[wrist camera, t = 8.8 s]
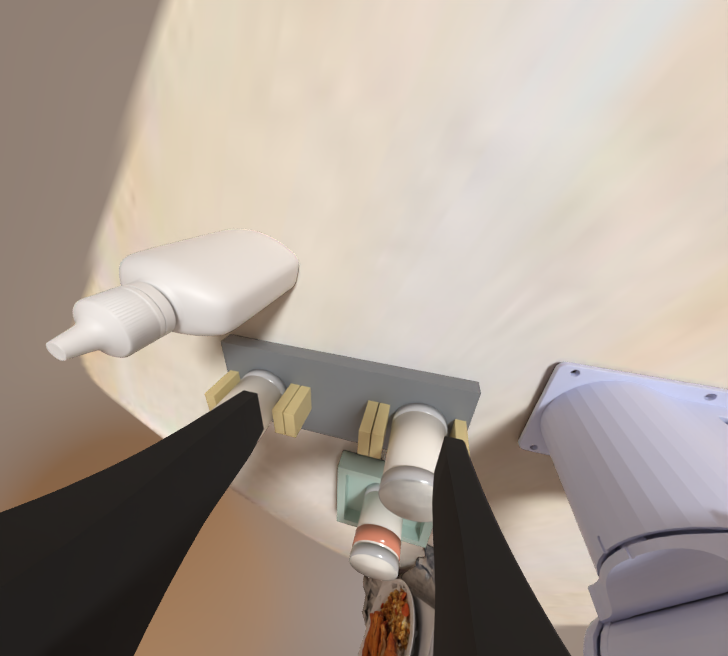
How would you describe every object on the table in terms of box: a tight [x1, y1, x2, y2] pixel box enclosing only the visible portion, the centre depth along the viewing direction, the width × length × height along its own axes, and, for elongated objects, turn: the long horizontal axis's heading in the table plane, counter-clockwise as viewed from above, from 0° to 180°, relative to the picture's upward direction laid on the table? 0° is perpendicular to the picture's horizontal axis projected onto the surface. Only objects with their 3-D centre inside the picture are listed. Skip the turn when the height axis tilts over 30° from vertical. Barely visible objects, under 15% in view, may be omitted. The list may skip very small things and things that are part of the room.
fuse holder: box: [205, 335, 481, 459], centre depth 21 cm, size 20×8×4 cm, turn 87°
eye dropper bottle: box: [46, 229, 299, 361], centre depth 14 cm, size 4×6×12 cm
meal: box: [358, 545, 435, 656], centre depth 30 cm, size 15×4×13 cm, turn 148°
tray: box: [337, 451, 433, 548], centre depth 28 cm, size 10×10×2 cm
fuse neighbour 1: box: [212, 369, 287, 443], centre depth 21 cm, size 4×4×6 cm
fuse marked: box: [349, 483, 403, 581], centre depth 25 cm, size 4×4×6 cm
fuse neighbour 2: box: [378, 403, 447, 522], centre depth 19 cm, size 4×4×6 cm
